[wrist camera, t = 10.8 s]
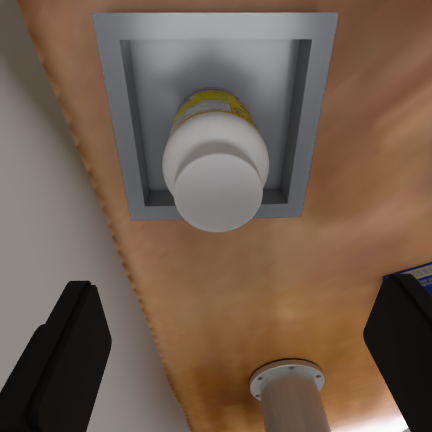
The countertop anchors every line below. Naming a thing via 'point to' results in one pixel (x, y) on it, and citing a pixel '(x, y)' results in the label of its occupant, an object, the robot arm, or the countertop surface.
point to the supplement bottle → (215, 161)
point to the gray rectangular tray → (215, 78)
